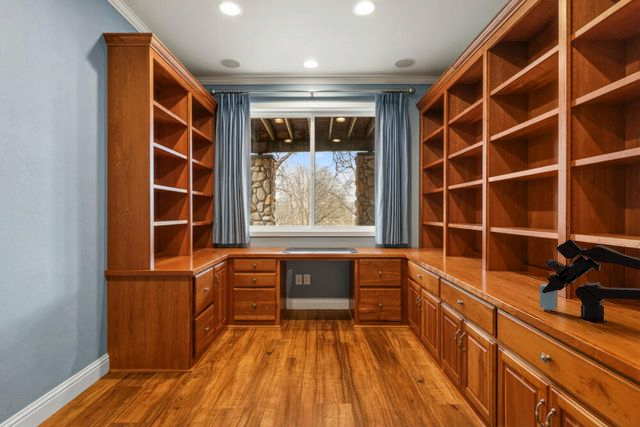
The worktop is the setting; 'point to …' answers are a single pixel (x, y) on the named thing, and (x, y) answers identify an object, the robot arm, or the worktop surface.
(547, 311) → the post
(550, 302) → the pale teal block
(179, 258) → the worktop surface
